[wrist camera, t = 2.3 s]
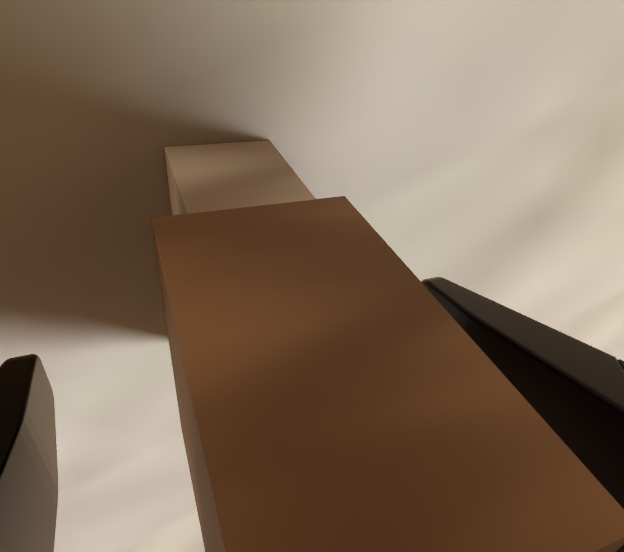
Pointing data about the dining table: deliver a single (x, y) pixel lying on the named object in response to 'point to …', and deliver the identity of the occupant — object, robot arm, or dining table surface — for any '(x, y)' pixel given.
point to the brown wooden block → (343, 385)
